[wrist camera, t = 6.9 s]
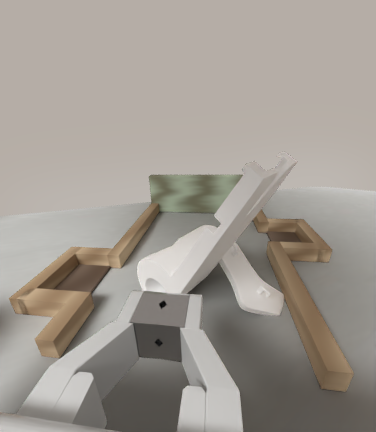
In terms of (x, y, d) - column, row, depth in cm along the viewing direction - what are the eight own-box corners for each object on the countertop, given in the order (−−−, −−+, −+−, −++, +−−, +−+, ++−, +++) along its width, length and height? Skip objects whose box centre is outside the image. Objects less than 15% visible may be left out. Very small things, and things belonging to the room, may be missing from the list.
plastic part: (195, 255, 23) (192, 145, 19) (289, 297, 17) (318, 147, 13) (139, 293, 18) (118, 153, 14) (247, 373, 12) (271, 164, 7)
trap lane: (-23, 348, 14) (-69, 273, 11) (129, 208, 37) (124, 174, 35) (447, 403, 10) (519, 312, 8) (286, 211, 34) (292, 174, 32)
